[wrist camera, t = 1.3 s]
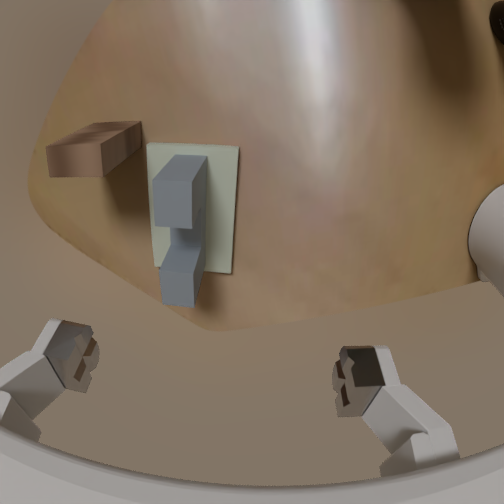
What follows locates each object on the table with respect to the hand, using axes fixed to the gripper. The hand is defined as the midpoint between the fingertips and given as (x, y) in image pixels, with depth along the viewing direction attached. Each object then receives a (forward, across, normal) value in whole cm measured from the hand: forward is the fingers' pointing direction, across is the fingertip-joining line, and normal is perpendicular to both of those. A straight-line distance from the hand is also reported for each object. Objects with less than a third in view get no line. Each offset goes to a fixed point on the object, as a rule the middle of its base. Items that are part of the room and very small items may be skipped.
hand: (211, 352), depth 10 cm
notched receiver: (+28, -6, -9) cm, 30 cm away
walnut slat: (+28, -15, 0) cm, 32 cm away
